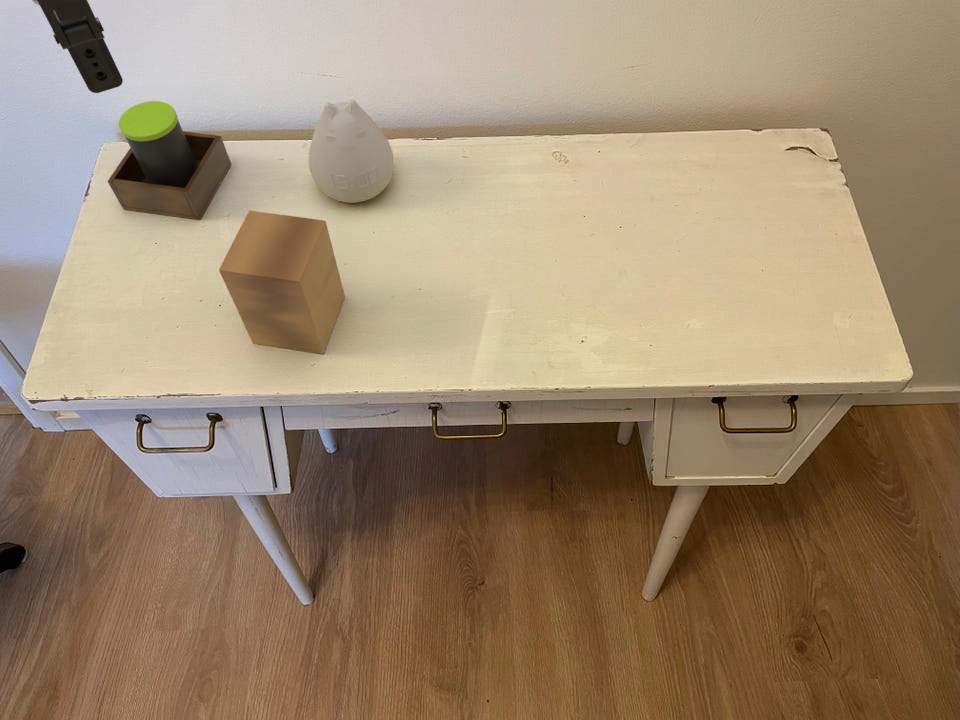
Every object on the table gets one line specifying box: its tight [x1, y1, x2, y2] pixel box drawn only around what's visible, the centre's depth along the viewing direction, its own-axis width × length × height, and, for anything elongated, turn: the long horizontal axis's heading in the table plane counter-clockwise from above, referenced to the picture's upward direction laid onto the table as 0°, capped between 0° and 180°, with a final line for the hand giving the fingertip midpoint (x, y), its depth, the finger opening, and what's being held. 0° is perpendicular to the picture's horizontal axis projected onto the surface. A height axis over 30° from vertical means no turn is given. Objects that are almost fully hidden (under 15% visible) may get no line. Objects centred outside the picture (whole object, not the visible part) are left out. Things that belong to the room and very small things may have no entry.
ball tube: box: [118, 100, 198, 188], centre depth 87 cm, size 6×6×10 cm
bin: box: [107, 130, 232, 221], centre depth 90 cm, size 10×10×5 cm
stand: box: [218, 210, 346, 355], centre depth 75 cm, size 8×8×12 cm
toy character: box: [308, 98, 395, 204], centre depth 87 cm, size 10×10×12 cm
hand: (92, 53), depth 50 cm, fingers open, 8 cm apart
